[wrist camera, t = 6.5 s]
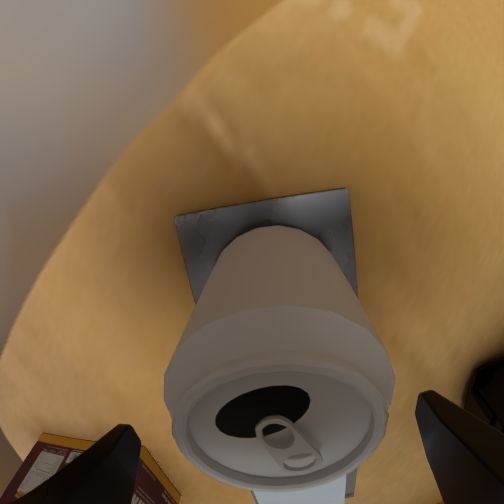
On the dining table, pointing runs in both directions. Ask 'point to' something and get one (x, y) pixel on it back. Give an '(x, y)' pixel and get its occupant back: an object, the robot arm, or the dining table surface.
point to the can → (278, 368)
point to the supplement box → (67, 449)
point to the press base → (264, 215)
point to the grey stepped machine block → (307, 494)
